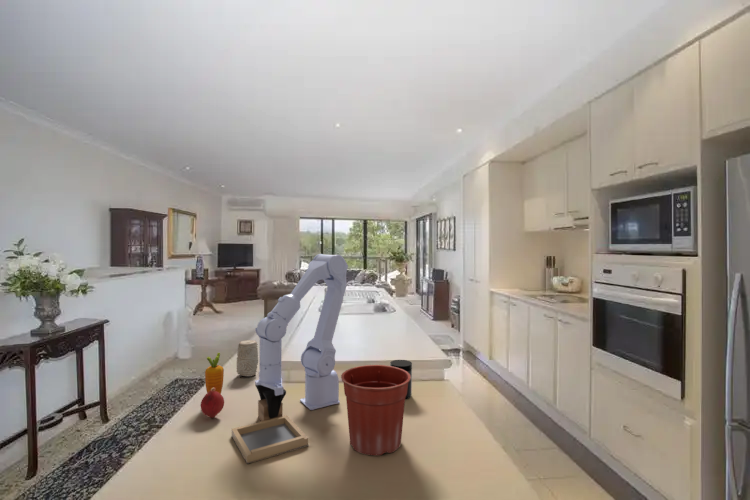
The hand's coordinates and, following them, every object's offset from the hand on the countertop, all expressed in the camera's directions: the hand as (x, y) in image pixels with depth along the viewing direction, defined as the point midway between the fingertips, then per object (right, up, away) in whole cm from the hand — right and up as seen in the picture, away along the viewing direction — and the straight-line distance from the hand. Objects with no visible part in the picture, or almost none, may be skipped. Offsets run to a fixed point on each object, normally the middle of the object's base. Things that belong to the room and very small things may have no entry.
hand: (270, 413), depth 103 cm
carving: (-17, -1, +34) cm, 38 cm away
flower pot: (+28, -2, -12) cm, 31 cm away
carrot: (-18, -1, +8) cm, 20 cm away
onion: (-16, -2, 0) cm, 16 cm away
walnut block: (0, -1, 0) cm, 1 cm away
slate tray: (+3, -2, -12) cm, 12 cm away
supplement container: (+36, -2, +16) cm, 40 cm away
